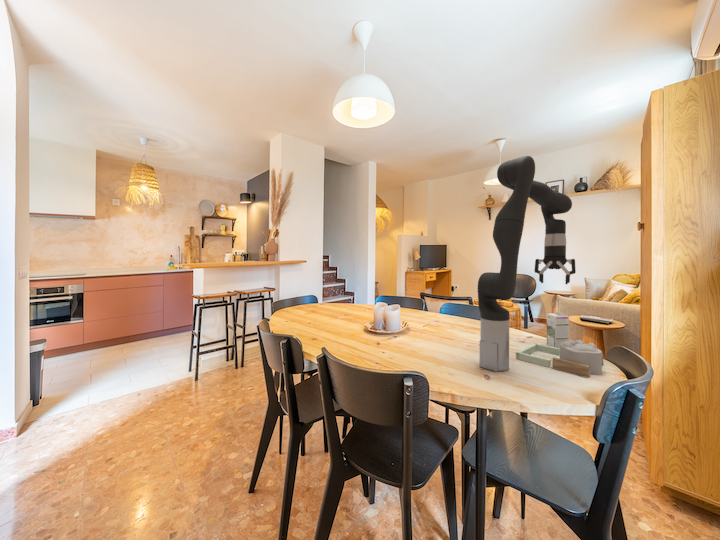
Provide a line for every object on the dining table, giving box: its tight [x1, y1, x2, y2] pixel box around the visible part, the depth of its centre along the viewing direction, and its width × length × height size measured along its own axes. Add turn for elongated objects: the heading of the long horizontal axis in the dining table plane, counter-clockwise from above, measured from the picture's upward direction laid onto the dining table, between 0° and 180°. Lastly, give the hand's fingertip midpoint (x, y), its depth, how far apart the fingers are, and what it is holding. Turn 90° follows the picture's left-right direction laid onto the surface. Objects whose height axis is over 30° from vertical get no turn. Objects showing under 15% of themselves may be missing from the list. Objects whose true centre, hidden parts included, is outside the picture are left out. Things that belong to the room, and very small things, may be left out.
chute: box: [551, 353, 604, 378], centre depth 100 cm, size 17×10×4 cm, turn 127°
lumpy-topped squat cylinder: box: [559, 339, 603, 376], centre depth 100 cm, size 10×13×9 cm
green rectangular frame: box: [515, 343, 560, 368], centre depth 109 cm, size 17×11×2 cm, turn 127°
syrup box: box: [546, 312, 570, 349], centre depth 119 cm, size 6×6×14 cm
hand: (554, 283), depth 121 cm, fingers open, 8 cm apart
